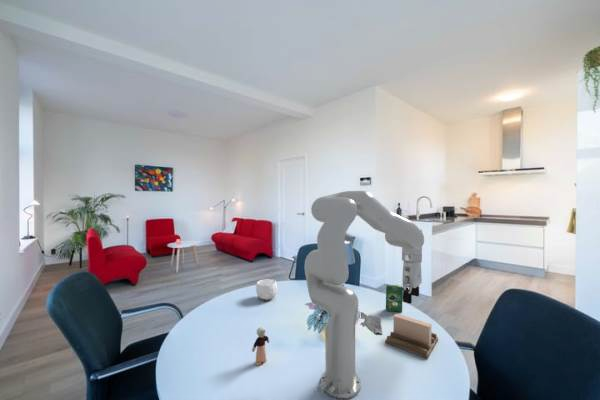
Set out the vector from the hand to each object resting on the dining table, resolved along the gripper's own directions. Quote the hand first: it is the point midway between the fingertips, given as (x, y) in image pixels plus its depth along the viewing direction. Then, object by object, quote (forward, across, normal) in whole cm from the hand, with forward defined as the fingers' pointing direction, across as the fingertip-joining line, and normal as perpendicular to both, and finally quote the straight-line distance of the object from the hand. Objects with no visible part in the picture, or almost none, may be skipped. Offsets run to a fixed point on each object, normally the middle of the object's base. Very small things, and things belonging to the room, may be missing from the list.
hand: (411, 298), depth 104 cm
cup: (+19, -8, +79) cm, 81 cm away
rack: (+18, +1, 0) cm, 18 cm away
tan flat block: (+17, +1, 0) cm, 17 cm away
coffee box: (+18, +24, +16) cm, 34 cm away
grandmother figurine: (+19, -47, +38) cm, 63 cm away
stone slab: (+19, +4, +19) cm, 27 cm away
